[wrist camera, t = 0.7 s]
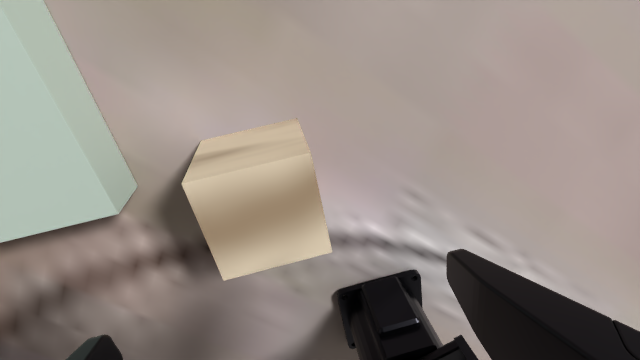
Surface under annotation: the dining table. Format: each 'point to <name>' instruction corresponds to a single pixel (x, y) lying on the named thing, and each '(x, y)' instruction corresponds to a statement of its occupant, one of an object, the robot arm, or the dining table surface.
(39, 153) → the platform
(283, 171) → the maple cube
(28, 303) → the dining table surface
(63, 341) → the dining table surface
